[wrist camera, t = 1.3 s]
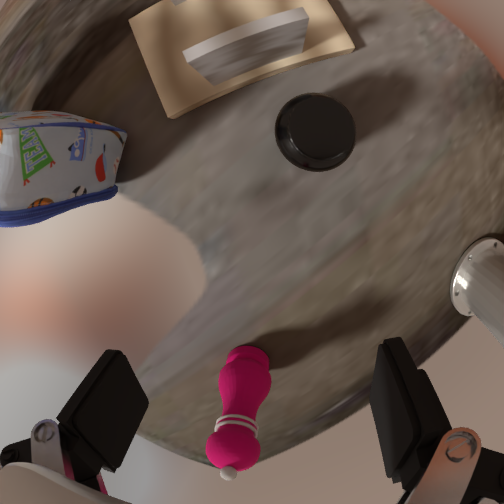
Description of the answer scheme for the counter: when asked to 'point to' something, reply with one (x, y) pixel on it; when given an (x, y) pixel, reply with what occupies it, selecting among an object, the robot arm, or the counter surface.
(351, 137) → the supplement bottle
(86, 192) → the lunch box
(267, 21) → the wooden stand
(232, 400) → the pepper mill
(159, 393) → the counter surface
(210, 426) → the counter surface
